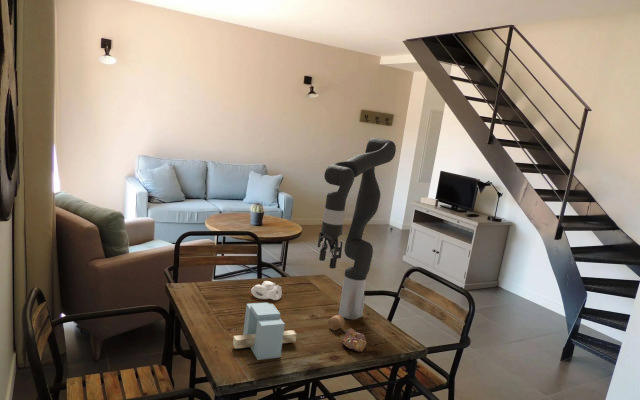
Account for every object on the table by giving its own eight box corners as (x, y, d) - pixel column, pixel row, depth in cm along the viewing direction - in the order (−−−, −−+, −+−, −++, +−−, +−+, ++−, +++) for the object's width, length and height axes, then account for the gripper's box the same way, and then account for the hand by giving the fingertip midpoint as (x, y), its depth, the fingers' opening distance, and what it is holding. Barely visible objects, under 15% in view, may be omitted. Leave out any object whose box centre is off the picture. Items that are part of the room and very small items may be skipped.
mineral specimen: (332, 336, 165) (341, 320, 166) (344, 343, 169) (353, 327, 171) (352, 351, 155) (362, 334, 157) (365, 358, 160) (374, 342, 161)
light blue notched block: (264, 333, 164) (268, 298, 162) (280, 357, 149) (285, 319, 147) (243, 335, 160) (247, 299, 158) (257, 359, 145) (262, 321, 143)
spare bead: (332, 324, 178) (334, 312, 178) (343, 329, 176) (345, 317, 175) (327, 327, 175) (329, 315, 174) (338, 332, 172) (339, 320, 172)
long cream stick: (292, 337, 161) (293, 330, 161) (295, 341, 158) (296, 334, 158) (232, 344, 151) (233, 335, 151) (235, 348, 148) (236, 340, 148)
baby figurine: (247, 297, 195) (253, 277, 199) (271, 305, 201) (276, 286, 205) (257, 295, 188) (263, 275, 192) (282, 304, 194) (287, 284, 198)
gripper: (351, 226, 155) (345, 270, 158) (333, 216, 168) (327, 257, 171) (332, 226, 152) (326, 271, 155) (315, 216, 165) (309, 258, 167)
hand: (327, 264), depth 163 cm, fingers open, 8 cm apart
